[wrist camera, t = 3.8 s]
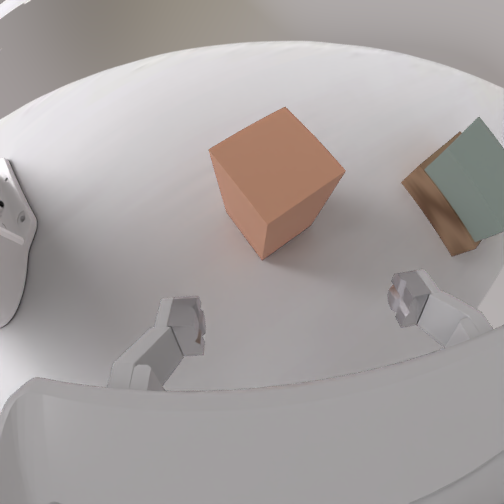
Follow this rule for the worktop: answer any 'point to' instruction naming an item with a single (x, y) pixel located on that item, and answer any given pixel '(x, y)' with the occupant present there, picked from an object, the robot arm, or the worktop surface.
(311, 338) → the worktop surface
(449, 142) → the tower base
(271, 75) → the worktop surface
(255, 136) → the pillar
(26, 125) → the worktop surface
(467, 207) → the tower top
